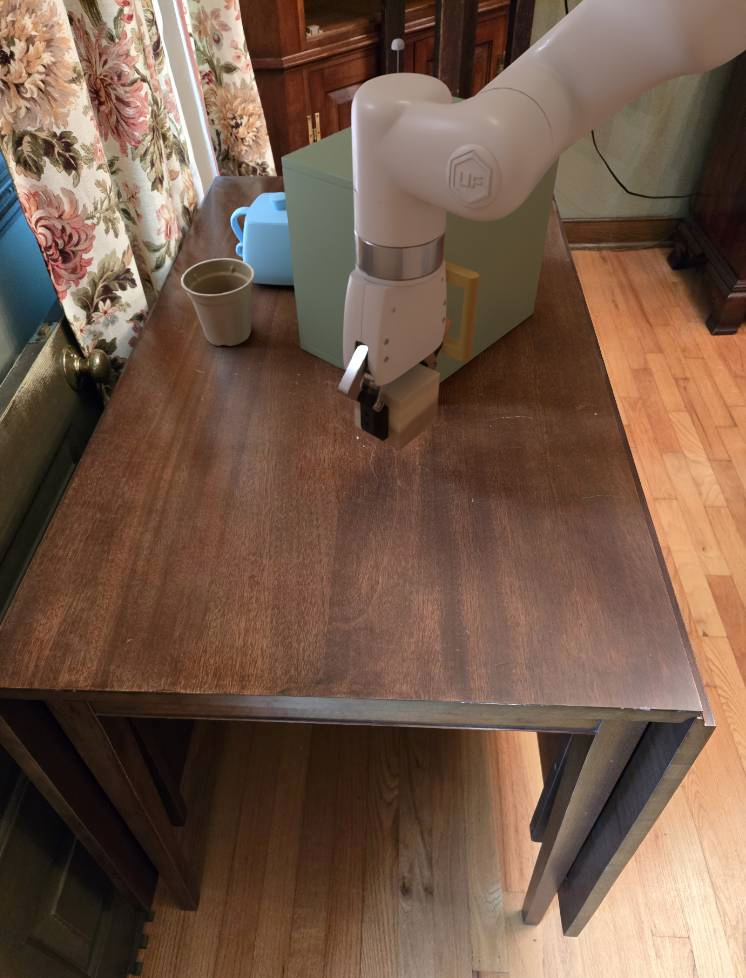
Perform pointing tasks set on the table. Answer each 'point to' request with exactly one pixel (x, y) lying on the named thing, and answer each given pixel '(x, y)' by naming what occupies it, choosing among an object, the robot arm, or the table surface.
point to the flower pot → (221, 298)
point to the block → (408, 404)
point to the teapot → (266, 239)
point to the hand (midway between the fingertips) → (396, 416)
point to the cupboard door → (492, 275)
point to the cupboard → (322, 239)
